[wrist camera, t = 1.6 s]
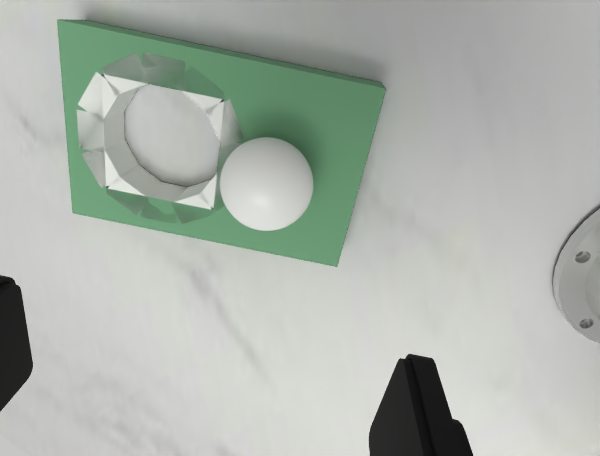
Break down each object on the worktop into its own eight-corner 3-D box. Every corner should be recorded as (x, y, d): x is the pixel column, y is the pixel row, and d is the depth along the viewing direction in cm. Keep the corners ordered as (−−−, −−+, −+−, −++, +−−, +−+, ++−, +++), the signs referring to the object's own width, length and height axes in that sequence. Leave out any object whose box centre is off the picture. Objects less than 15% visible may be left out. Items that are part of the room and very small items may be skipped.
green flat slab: (381, 82, 23) (386, 88, 21) (337, 247, 28) (337, 266, 26) (84, 19, 23) (57, 19, 20) (93, 198, 28) (72, 213, 25)
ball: (323, 137, 22) (320, 164, 18) (306, 215, 24) (300, 256, 20) (237, 119, 22) (213, 142, 18) (227, 199, 24) (204, 236, 20)
